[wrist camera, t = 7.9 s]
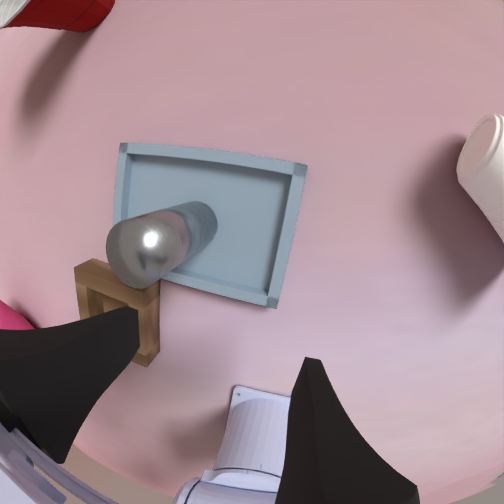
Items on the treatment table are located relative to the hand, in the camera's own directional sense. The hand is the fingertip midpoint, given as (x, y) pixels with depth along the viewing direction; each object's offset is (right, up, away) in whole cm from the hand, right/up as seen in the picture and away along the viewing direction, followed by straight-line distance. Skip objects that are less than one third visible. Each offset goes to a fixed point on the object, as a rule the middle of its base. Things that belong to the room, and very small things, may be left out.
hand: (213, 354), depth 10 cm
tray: (-2, +7, +10) cm, 12 cm away
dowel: (-3, +6, +9) cm, 11 cm away
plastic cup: (-15, +30, +6) cm, 34 cm away
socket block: (-11, -1, +14) cm, 17 cm away
